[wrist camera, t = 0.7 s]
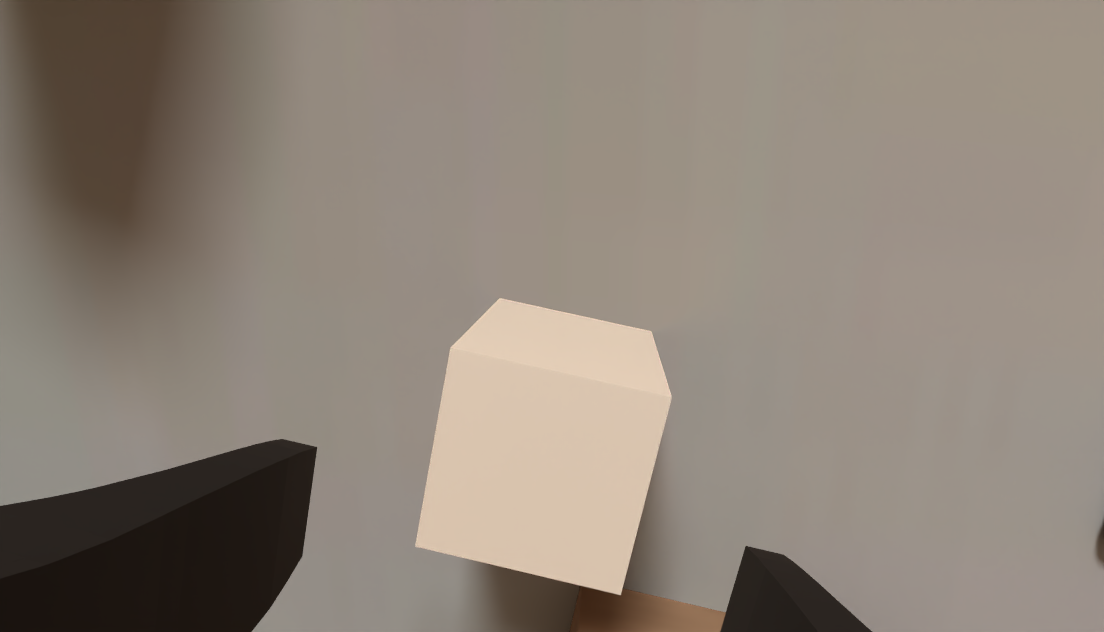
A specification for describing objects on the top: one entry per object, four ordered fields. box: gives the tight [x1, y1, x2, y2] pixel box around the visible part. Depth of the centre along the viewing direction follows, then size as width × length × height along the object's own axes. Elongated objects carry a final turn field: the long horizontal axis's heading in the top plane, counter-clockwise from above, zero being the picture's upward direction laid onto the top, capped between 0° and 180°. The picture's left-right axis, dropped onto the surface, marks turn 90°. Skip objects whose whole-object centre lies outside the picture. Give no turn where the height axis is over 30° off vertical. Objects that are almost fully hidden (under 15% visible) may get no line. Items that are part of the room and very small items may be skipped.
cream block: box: [415, 298, 672, 595], centre depth 16 cm, size 4×4×6 cm
